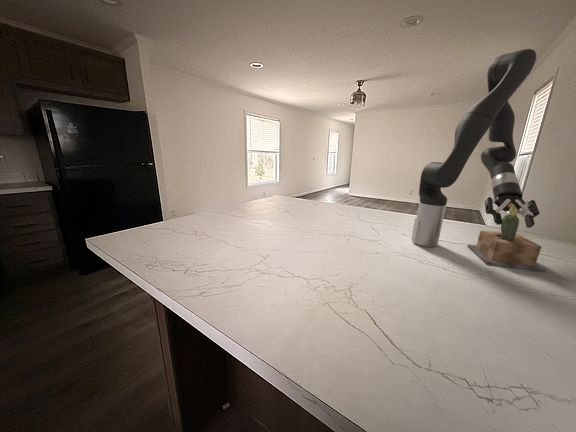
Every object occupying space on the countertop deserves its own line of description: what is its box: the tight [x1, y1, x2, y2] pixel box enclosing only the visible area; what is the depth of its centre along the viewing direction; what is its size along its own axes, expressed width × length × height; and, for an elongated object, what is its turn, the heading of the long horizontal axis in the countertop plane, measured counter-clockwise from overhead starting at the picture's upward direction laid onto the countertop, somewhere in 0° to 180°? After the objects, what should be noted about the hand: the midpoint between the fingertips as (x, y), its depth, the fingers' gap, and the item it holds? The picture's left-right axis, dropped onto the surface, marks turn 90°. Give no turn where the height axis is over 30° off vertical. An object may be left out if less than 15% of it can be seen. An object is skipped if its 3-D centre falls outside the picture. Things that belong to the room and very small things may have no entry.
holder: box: [467, 230, 547, 274], centre depth 82 cm, size 16×16×8 cm
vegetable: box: [500, 203, 520, 241], centre depth 80 cm, size 4×4×20 cm
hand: (514, 225), depth 79 cm, fingers open, 8 cm apart
